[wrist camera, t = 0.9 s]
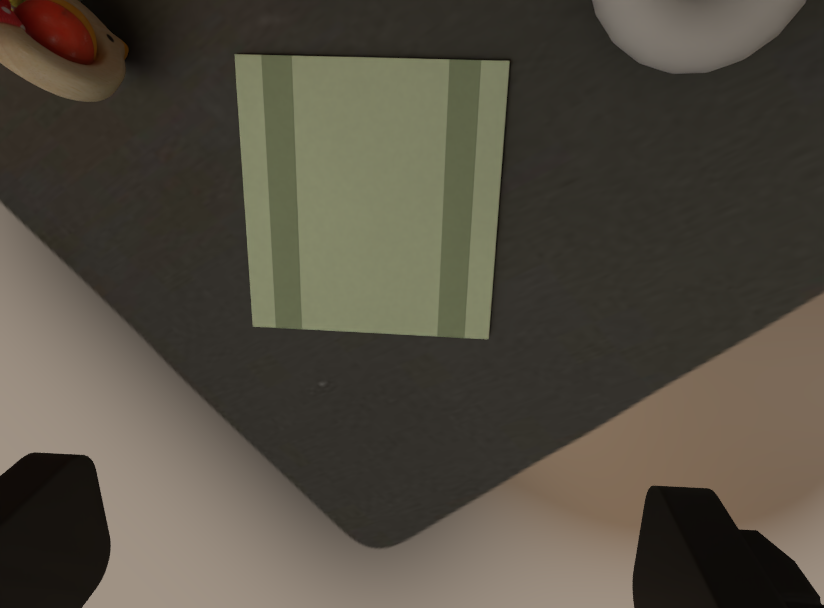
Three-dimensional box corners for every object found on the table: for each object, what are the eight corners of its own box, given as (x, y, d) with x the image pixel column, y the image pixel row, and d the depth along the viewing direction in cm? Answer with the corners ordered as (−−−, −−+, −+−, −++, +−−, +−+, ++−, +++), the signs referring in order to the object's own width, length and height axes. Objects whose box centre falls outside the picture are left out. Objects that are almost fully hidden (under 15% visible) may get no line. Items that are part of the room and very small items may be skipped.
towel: (236, 54, 31) (233, 53, 30) (509, 60, 30) (509, 60, 29) (254, 324, 36) (252, 326, 35) (488, 337, 35) (488, 339, 34)
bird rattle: (172, 8, 32) (-7, -141, 27) (141, 61, 23) (-131, -145, 18) (108, 96, 34) (-70, -29, 29) (58, 176, 25) (-209, 16, 20)
